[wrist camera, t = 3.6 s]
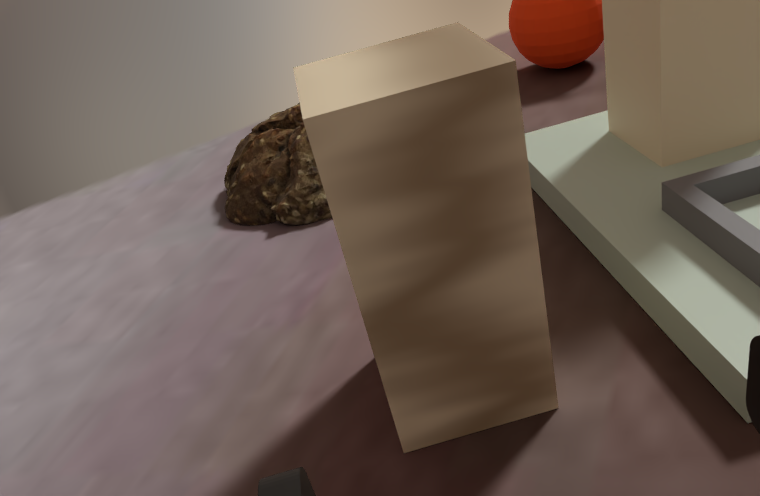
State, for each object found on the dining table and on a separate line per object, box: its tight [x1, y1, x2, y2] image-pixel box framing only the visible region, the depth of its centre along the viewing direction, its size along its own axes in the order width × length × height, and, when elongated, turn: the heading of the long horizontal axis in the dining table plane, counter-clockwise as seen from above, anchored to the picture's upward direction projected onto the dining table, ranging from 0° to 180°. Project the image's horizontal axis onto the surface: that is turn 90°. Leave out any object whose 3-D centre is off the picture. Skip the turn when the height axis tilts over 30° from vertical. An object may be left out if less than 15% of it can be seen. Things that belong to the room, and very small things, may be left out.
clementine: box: [509, 0, 604, 69], centre depth 45 cm, size 8×7×7 cm
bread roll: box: [224, 102, 332, 226], centre depth 39 cm, size 13×12×5 cm
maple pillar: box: [293, 22, 558, 453], centre depth 20 cm, size 5×5×11 cm
